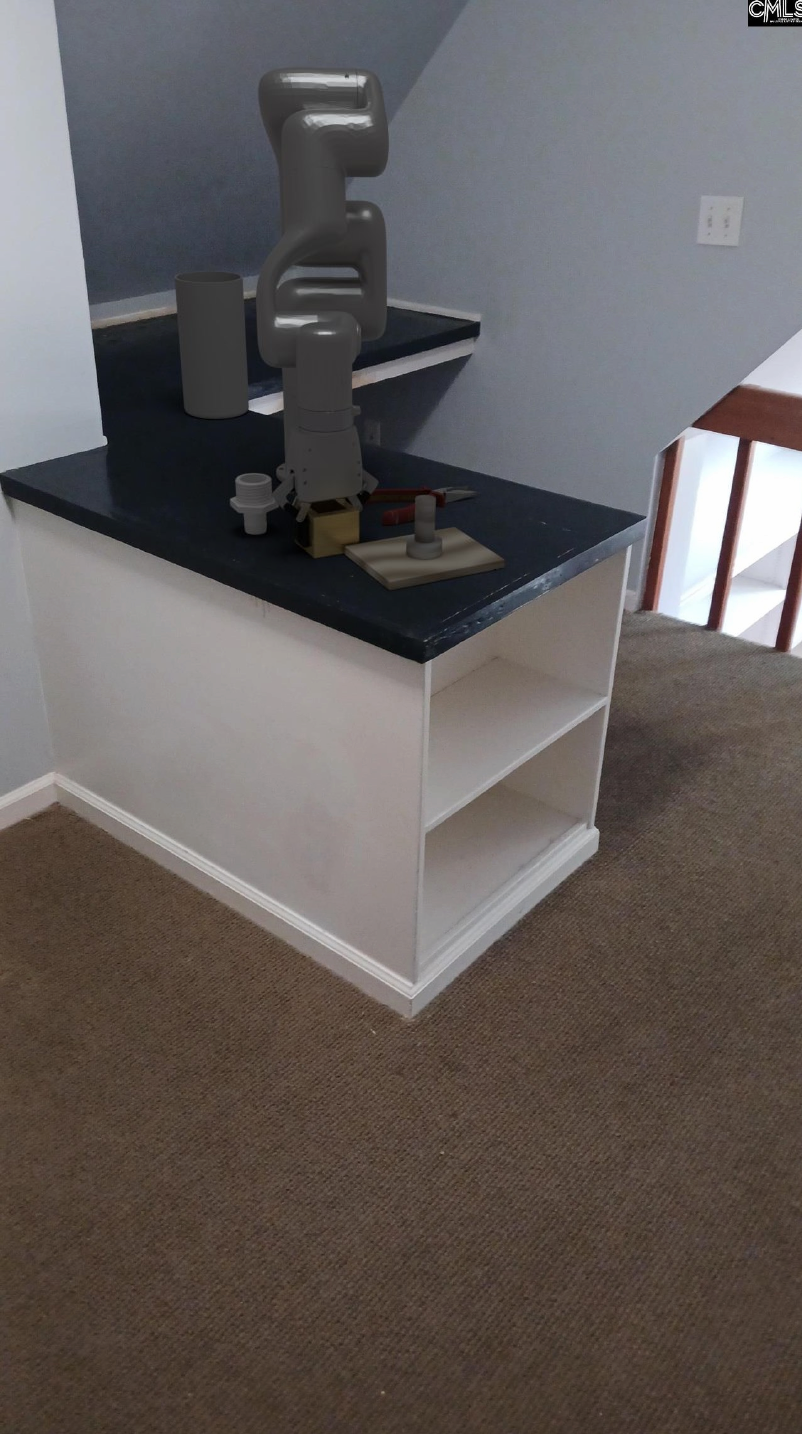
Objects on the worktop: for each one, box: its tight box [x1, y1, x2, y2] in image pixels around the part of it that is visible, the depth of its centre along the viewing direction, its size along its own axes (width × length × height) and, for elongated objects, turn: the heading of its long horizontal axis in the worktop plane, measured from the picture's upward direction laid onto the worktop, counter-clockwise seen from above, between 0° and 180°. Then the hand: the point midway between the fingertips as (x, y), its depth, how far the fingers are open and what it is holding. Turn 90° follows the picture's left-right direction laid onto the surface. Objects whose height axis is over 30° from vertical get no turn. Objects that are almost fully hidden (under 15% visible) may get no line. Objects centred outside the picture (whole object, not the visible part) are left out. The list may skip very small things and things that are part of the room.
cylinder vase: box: [174, 270, 250, 420], centre depth 223 cm, size 12×12×25 cm
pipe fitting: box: [229, 472, 280, 535], centre depth 172 cm, size 6×7×8 cm
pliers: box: [363, 485, 480, 527], centre depth 184 cm, size 12×20×3 cm, turn 122°
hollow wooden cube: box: [294, 498, 360, 559], centre depth 167 cm, size 7×7×6 cm
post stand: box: [344, 495, 506, 591], centre depth 162 cm, size 14×18×9 cm
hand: (326, 539), depth 168 cm, fingers closed on hollow wooden cube, 7 cm apart
